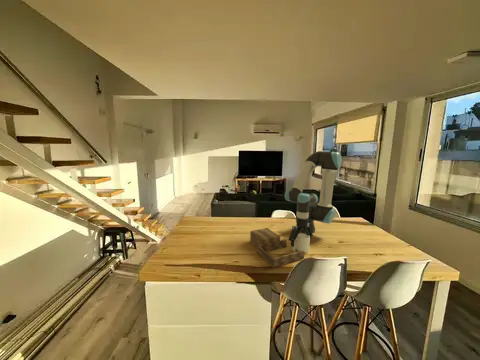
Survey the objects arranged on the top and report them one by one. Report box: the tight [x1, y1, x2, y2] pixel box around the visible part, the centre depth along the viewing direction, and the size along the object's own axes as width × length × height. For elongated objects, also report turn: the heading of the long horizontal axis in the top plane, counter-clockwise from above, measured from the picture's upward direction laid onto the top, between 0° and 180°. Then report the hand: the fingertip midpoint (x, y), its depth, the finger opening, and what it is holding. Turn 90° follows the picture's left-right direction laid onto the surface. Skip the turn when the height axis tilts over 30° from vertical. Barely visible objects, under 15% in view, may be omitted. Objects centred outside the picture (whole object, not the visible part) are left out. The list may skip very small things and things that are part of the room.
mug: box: [295, 232, 311, 254], centre depth 143 cm, size 12×8×10 cm
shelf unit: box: [249, 227, 305, 268], centre depth 143 cm, size 23×34×8 cm
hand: (300, 248), depth 144 cm, fingers closed on mug, 11 cm apart
